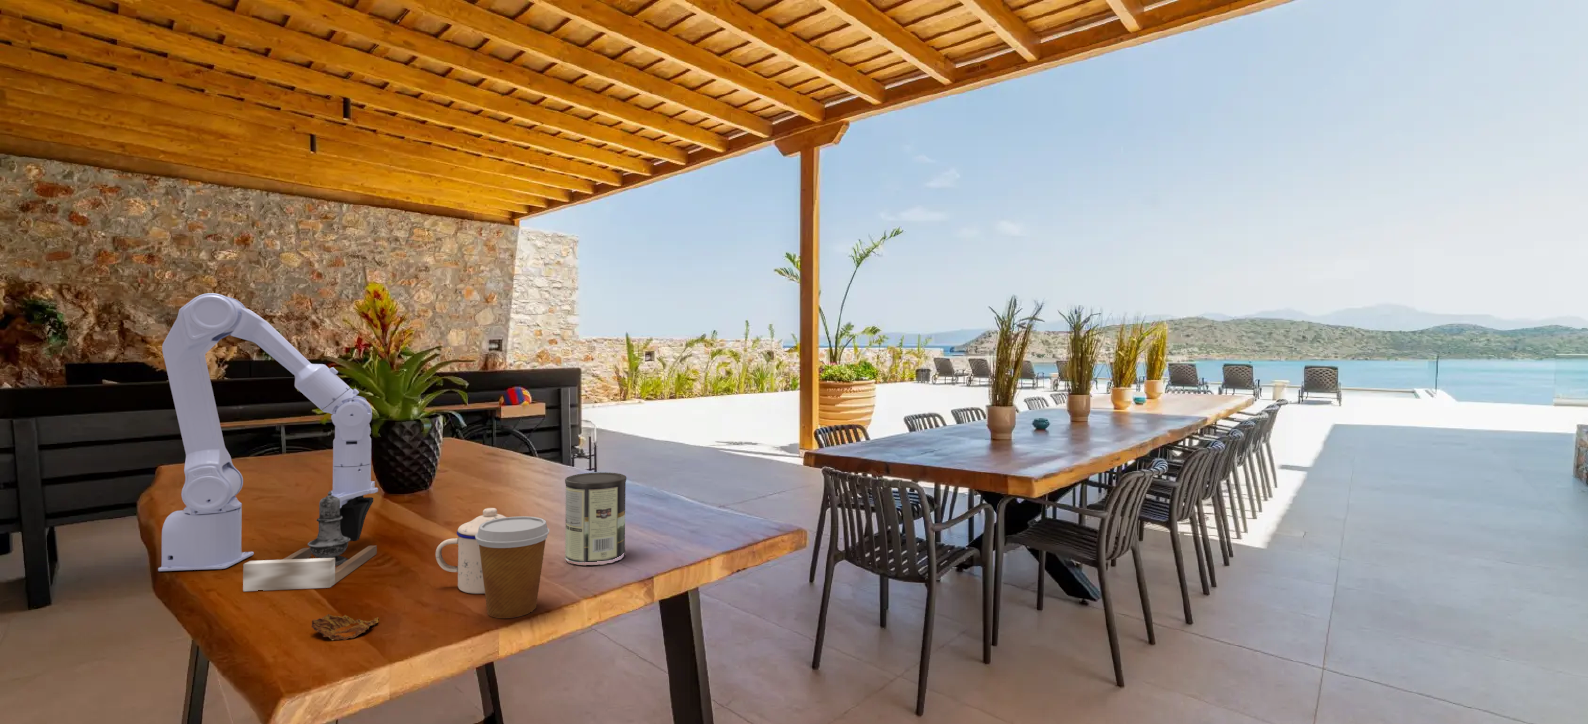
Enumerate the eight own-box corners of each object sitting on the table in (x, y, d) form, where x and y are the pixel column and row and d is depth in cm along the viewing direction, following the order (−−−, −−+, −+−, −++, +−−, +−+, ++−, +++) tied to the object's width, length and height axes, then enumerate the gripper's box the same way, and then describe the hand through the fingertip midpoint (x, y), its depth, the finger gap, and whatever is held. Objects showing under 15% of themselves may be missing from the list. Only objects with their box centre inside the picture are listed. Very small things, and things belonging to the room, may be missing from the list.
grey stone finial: (358, 558, 115) (359, 488, 115) (331, 569, 110) (332, 495, 109) (326, 556, 116) (327, 486, 116) (298, 567, 110) (298, 493, 110)
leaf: (351, 646, 83) (354, 632, 83) (299, 637, 83) (302, 623, 83) (387, 630, 89) (389, 617, 89) (338, 621, 90) (340, 609, 90)
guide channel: (243, 591, 99) (243, 564, 99) (303, 556, 116) (303, 533, 115) (329, 587, 101) (330, 561, 101) (376, 554, 118) (376, 531, 118)
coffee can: (597, 545, 125) (598, 470, 125) (637, 555, 120) (638, 476, 120) (551, 559, 117) (552, 478, 116) (591, 570, 111) (593, 485, 111)
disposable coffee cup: (555, 615, 92) (556, 527, 92) (479, 629, 87) (480, 536, 87) (540, 593, 100) (541, 512, 100) (469, 605, 95) (470, 520, 95)
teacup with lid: (524, 573, 109) (525, 501, 109) (516, 592, 100) (517, 514, 100) (443, 578, 106) (443, 504, 106) (427, 599, 97) (428, 518, 97)
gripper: (359, 471, 114) (358, 551, 115) (392, 457, 129) (391, 529, 129) (312, 472, 113) (311, 552, 113) (351, 458, 127) (350, 530, 127)
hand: (351, 540), depth 121 cm, fingers closed
